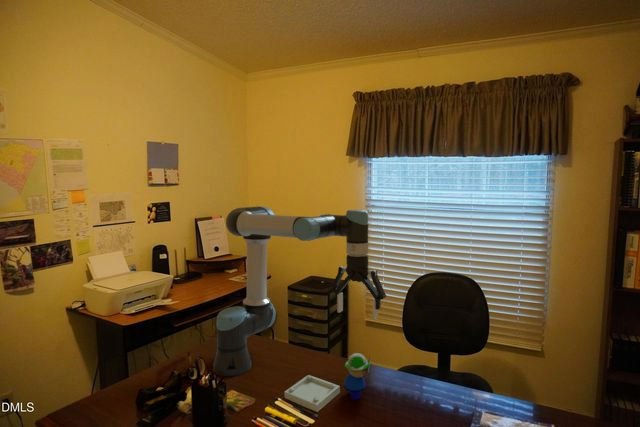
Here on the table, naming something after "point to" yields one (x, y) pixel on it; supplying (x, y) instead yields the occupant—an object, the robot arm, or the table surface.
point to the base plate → (312, 392)
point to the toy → (356, 374)
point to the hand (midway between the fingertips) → (357, 314)
